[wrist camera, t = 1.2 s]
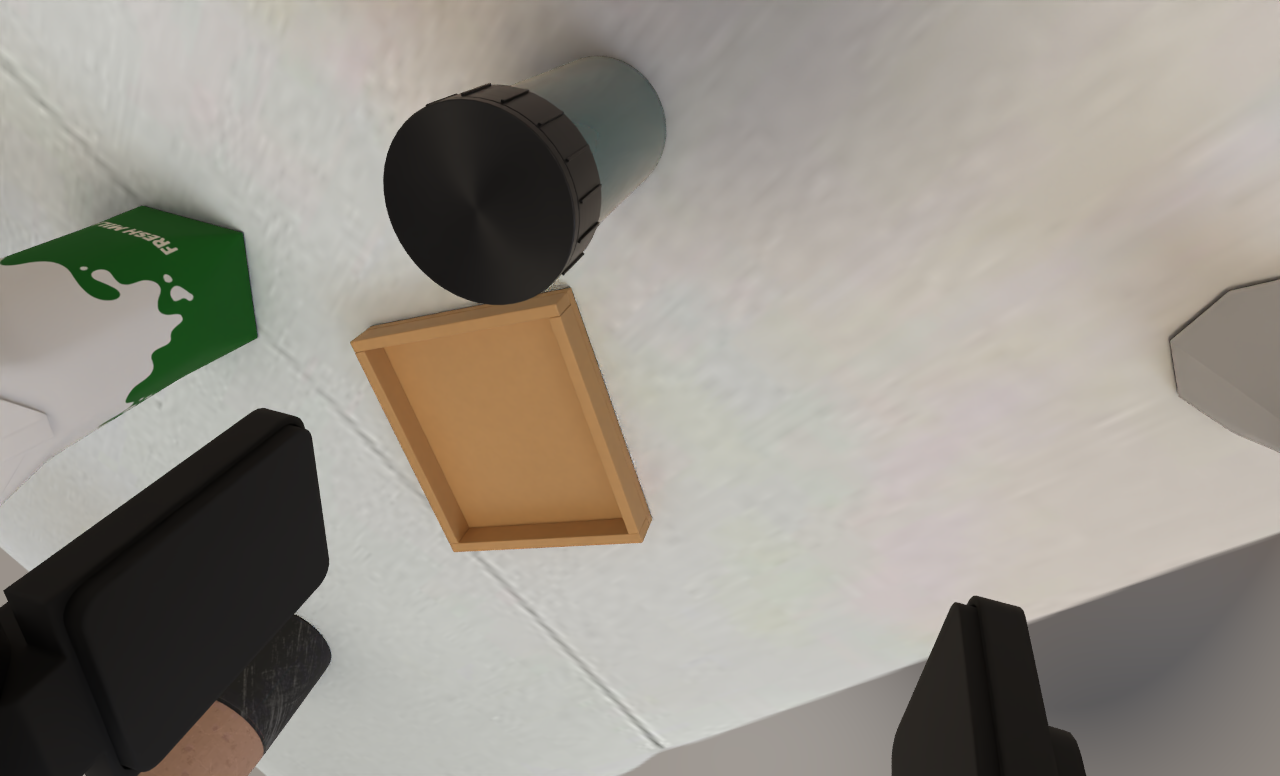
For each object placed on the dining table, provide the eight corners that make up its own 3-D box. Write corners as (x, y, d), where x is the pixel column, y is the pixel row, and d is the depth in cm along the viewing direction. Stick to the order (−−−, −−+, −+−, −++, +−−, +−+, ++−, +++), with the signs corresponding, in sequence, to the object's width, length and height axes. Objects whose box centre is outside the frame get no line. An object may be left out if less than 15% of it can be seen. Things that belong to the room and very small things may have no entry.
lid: (393, 113, 27) (348, 129, 25) (564, 58, 25) (531, 70, 22) (466, 291, 30) (432, 320, 28) (627, 259, 28) (603, 287, 25)
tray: (371, 325, 46) (349, 342, 44) (570, 287, 41) (555, 303, 39) (469, 530, 52) (453, 552, 50) (652, 519, 47) (642, 543, 45)
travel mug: (265, 592, 62) (36, 830, 46) (345, 644, 63) (147, 898, 46) (245, 638, 67) (29, 871, 50) (320, 686, 67) (131, 933, 50)
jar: (521, 76, 36) (370, 134, 26) (644, 37, 33) (531, 83, 23) (565, 205, 38) (443, 304, 28) (681, 177, 36) (595, 274, 26)
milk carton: (255, 220, 44) (-131, 391, 28) (272, 355, 49) (-47, 569, 32) (126, 186, 46) (-315, 329, 29) (155, 320, 50) (-208, 508, 34)
